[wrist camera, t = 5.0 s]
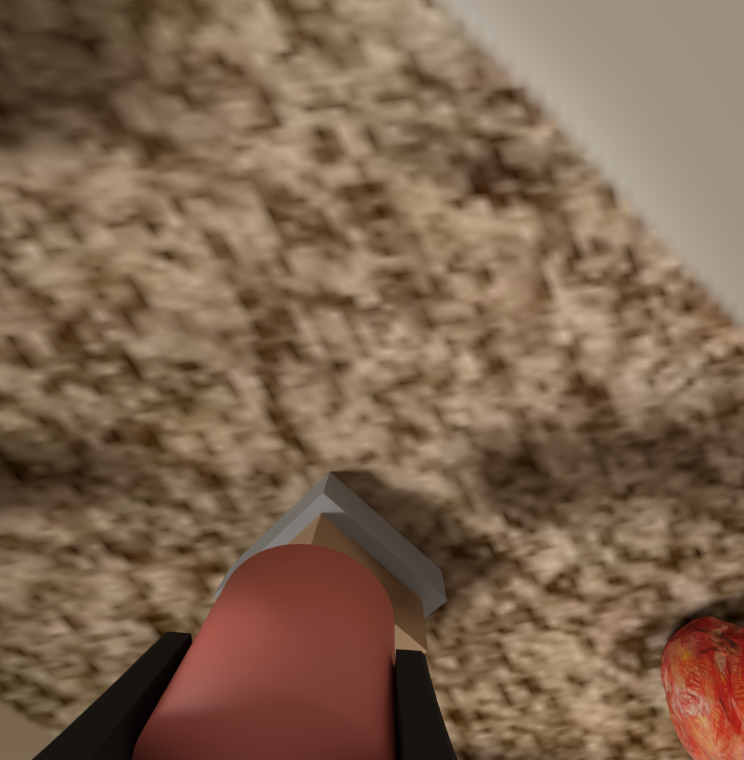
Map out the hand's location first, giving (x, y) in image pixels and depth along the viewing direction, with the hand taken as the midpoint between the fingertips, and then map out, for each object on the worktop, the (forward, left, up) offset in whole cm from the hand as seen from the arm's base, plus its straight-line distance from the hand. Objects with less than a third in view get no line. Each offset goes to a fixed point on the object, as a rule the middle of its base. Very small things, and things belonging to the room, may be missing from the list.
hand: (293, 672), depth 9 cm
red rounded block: (0, 0, -1) cm, 1 cm away
